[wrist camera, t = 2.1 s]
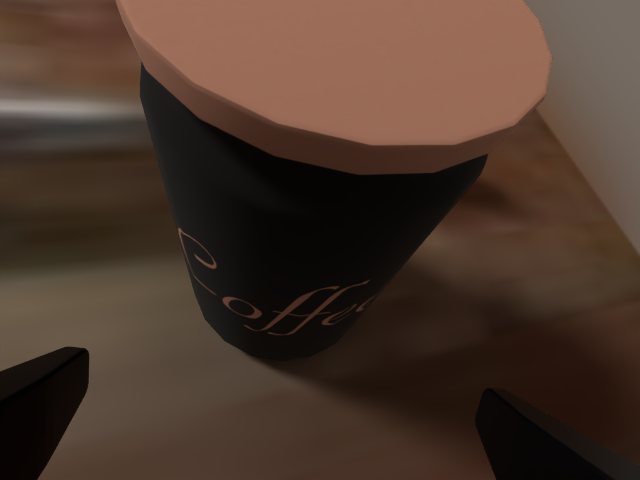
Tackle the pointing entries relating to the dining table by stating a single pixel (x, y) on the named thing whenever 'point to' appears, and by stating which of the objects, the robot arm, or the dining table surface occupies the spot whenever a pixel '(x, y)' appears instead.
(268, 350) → the coffee jar
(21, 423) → the robot arm
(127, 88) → the dining table surface
